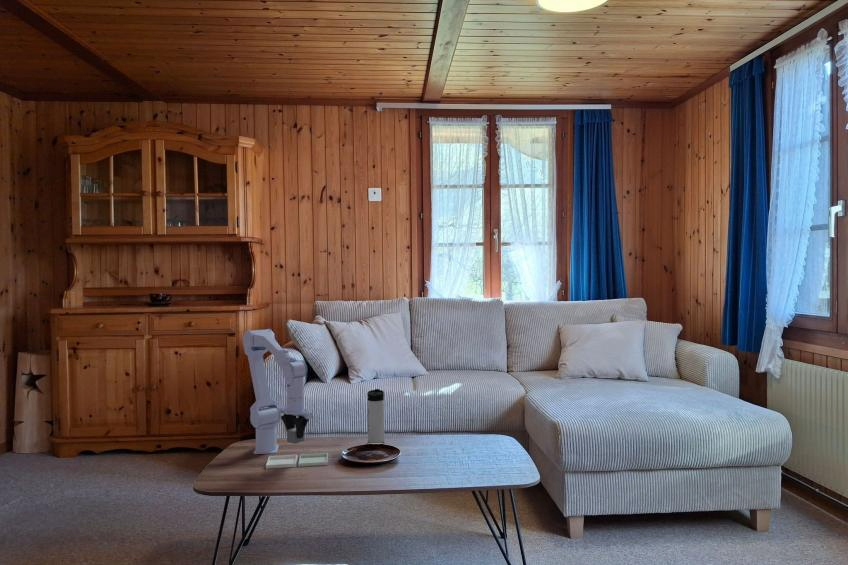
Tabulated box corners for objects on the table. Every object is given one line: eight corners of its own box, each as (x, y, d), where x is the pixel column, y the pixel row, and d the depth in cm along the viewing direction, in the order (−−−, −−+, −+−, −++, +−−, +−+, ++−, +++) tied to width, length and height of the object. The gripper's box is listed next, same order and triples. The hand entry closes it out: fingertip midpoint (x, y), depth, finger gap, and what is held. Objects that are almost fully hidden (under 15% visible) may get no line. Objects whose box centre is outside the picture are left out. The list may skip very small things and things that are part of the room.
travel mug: (385, 441, 214) (385, 388, 214) (382, 446, 207) (382, 392, 207) (369, 440, 215) (369, 388, 214) (366, 445, 208) (365, 392, 208)
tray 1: (269, 459, 193) (269, 456, 193) (297, 458, 195) (297, 454, 195) (265, 469, 184) (265, 465, 184) (295, 467, 185) (295, 463, 185)
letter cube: (287, 441, 189) (286, 429, 189) (296, 438, 193) (296, 427, 193) (295, 443, 187) (295, 431, 187) (304, 440, 190) (304, 428, 190)
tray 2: (300, 457, 195) (300, 454, 195) (328, 456, 196) (328, 452, 196) (298, 467, 185) (298, 463, 185) (327, 465, 187) (327, 461, 187)
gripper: (271, 396, 191) (271, 435, 191) (300, 401, 182) (301, 443, 182) (287, 392, 196) (288, 431, 197) (316, 397, 188) (317, 438, 188)
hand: (295, 436), depth 190 cm, fingers closed on letter cube, 4 cm apart
